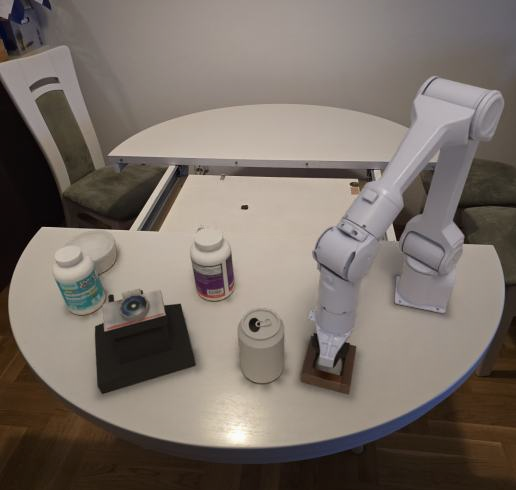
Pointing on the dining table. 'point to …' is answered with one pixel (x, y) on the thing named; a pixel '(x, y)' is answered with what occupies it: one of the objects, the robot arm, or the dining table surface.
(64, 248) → the pill bottle
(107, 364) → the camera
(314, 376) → the holder
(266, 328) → the can
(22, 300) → the dining table surface
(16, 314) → the dining table surface
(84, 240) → the ramekin
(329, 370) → the rook chess piece
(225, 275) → the pill bottle
